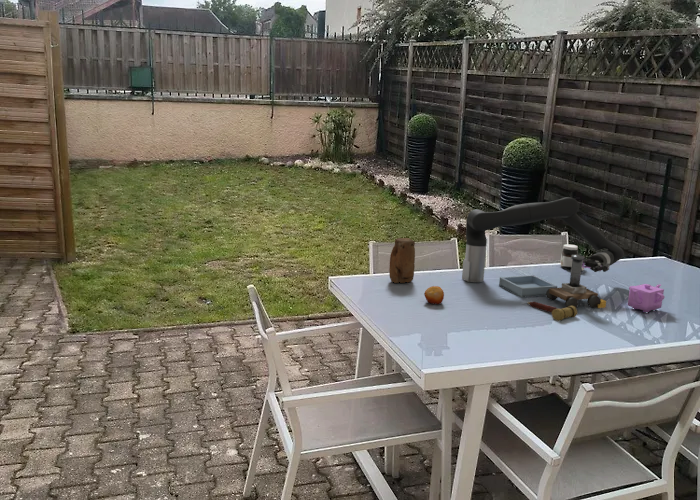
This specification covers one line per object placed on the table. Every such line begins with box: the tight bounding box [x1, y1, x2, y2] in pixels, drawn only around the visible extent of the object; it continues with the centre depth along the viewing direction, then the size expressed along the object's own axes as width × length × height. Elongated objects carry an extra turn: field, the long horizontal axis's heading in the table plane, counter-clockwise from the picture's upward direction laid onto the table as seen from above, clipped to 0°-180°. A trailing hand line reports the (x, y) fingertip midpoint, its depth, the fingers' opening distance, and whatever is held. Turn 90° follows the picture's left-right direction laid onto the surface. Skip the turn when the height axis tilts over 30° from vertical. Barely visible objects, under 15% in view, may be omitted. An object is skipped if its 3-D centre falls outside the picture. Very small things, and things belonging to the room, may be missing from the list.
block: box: [388, 237, 416, 284], centre depth 289 cm, size 11×8×20 cm
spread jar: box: [560, 243, 585, 272], centre depth 324 cm, size 12×11×12 cm
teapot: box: [627, 283, 666, 313], centre depth 262 cm, size 15×13×11 cm
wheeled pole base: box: [546, 282, 601, 309], centre depth 267 cm, size 16×15×8 cm
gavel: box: [527, 301, 578, 322], centre depth 256 cm, size 21×5×10 cm
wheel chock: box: [596, 298, 607, 309], centre depth 264 cm, size 4×3×3 cm
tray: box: [498, 274, 558, 298], centre depth 284 cm, size 18×18×4 cm
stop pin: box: [569, 254, 585, 287], centre depth 265 cm, size 5×5×15 cm
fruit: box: [423, 285, 445, 305], centre depth 262 cm, size 8×8×8 cm
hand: (585, 267), depth 272 cm, fingers open, 8 cm apart
